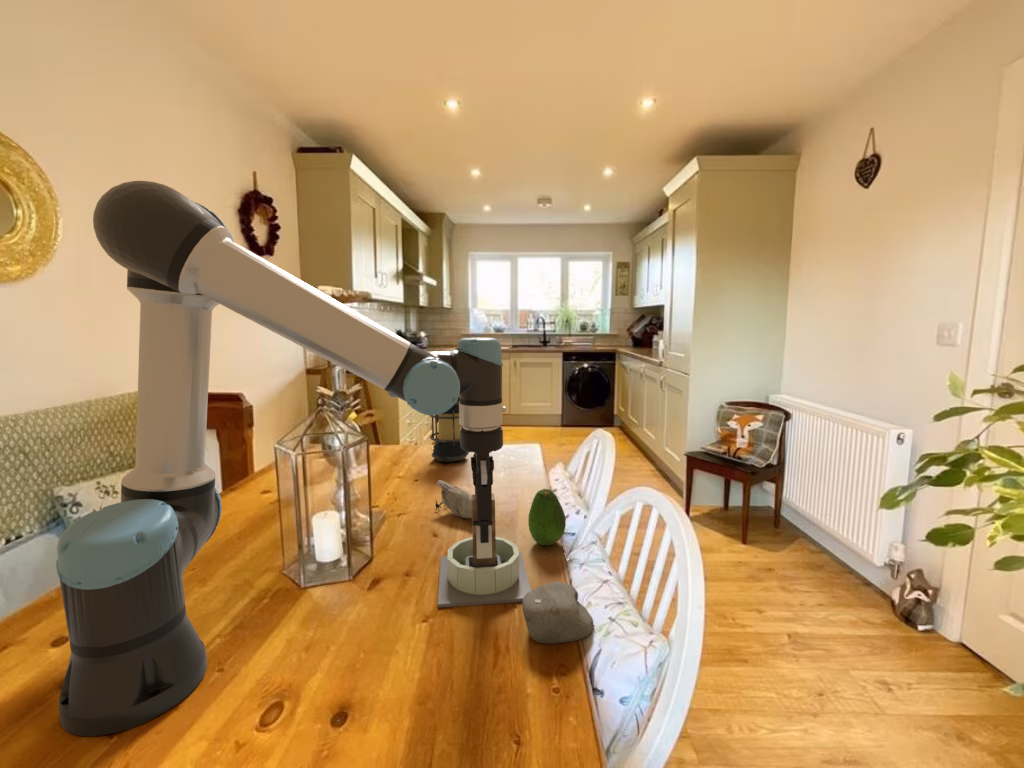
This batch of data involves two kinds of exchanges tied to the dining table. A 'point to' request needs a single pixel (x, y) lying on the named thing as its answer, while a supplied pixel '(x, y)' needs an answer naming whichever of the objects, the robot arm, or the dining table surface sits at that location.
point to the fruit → (546, 518)
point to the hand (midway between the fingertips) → (483, 552)
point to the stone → (556, 614)
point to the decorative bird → (455, 500)
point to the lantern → (448, 436)
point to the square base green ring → (482, 576)
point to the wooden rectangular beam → (474, 518)
